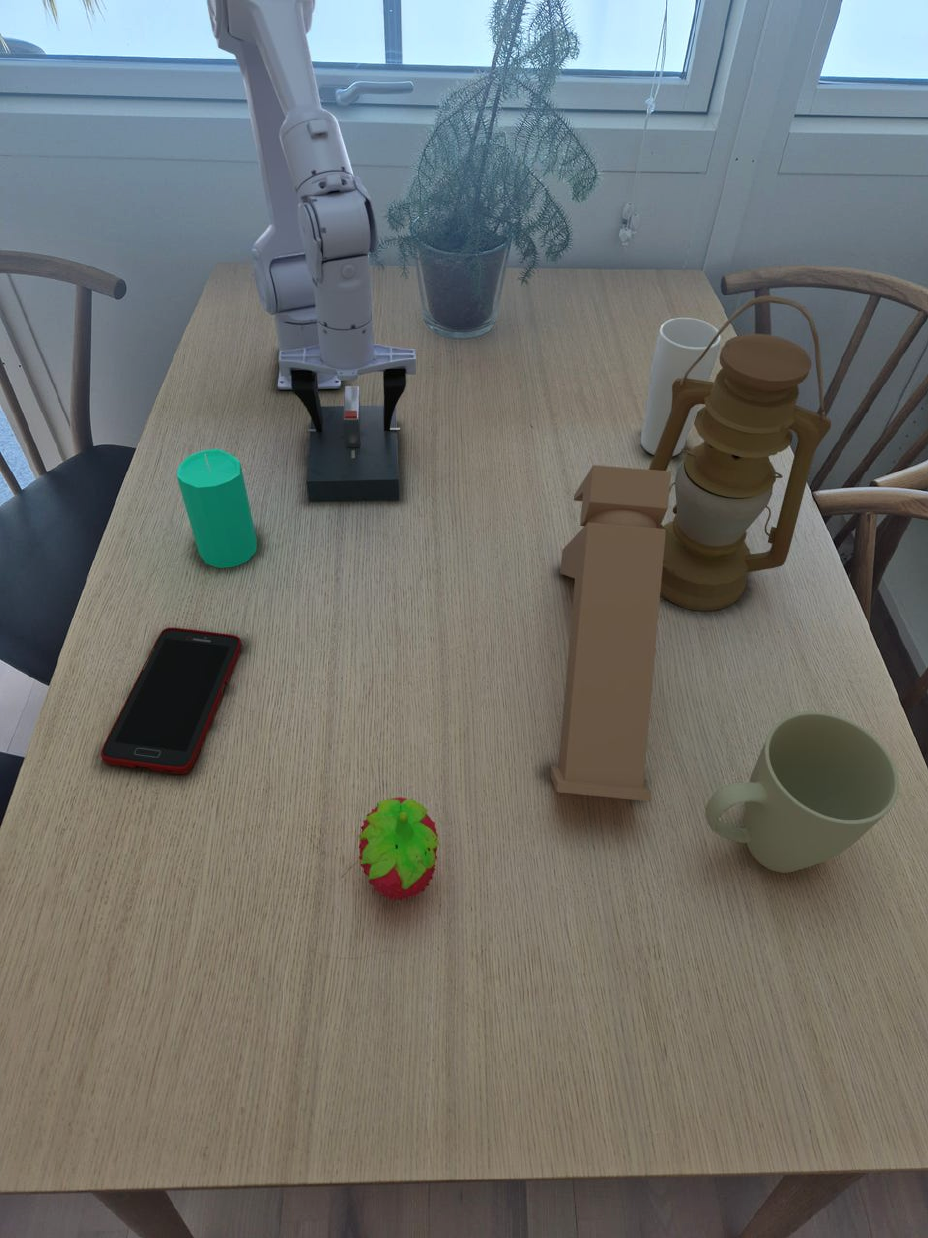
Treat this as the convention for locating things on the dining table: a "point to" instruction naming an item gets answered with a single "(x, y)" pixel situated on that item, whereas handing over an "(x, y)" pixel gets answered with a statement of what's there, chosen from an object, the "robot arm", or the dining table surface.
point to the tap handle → (352, 416)
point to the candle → (218, 507)
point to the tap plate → (353, 459)
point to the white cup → (676, 374)
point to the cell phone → (173, 701)
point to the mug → (809, 792)
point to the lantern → (736, 463)
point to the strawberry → (398, 848)
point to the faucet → (612, 632)
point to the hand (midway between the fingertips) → (353, 426)
